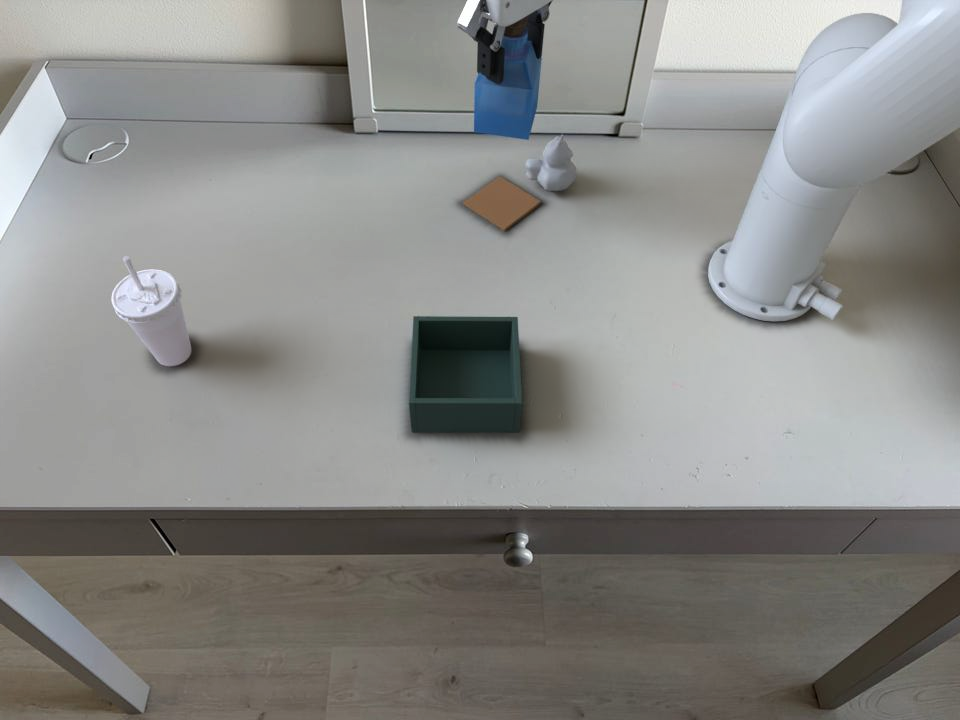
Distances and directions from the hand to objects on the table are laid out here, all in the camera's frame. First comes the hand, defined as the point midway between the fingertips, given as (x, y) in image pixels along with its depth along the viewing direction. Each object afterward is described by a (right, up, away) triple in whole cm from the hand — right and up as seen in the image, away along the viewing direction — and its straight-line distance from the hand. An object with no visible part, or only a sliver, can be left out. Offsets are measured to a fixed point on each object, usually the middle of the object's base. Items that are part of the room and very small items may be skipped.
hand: (509, 64), depth 83 cm
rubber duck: (+6, -9, +18) cm, 21 cm away
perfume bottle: (0, -4, +6) cm, 7 cm away
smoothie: (-36, -31, +1) cm, 47 cm away
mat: (0, -12, +16) cm, 20 cm away
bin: (-5, -34, -1) cm, 35 cm away
